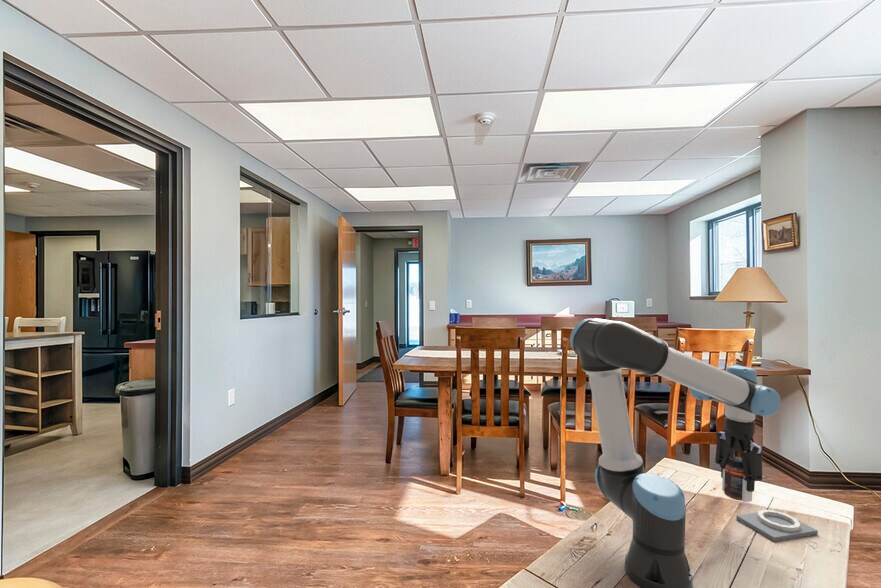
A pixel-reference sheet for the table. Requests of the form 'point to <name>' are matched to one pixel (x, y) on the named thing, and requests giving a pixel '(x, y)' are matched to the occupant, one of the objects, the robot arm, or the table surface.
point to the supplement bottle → (734, 478)
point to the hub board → (776, 525)
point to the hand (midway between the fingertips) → (736, 495)
